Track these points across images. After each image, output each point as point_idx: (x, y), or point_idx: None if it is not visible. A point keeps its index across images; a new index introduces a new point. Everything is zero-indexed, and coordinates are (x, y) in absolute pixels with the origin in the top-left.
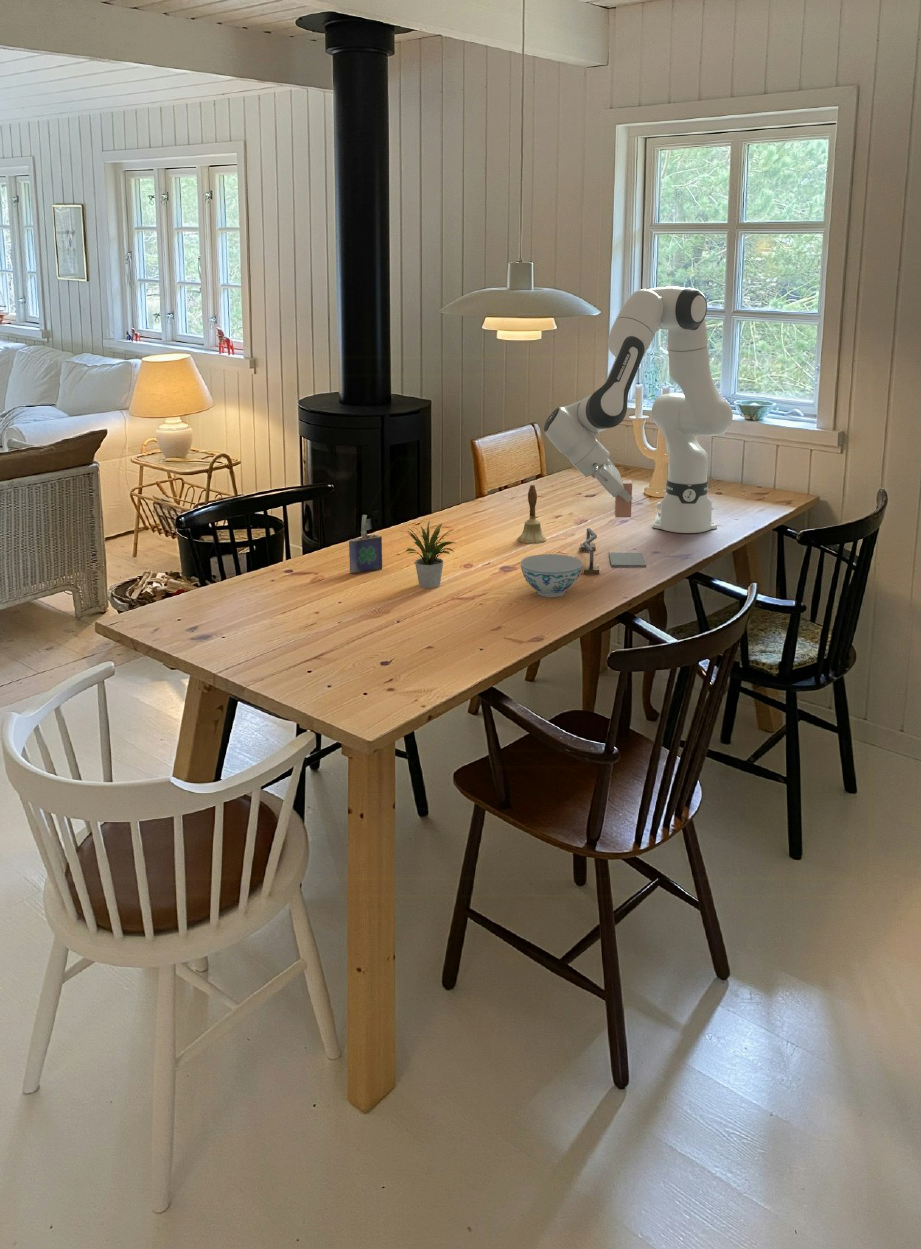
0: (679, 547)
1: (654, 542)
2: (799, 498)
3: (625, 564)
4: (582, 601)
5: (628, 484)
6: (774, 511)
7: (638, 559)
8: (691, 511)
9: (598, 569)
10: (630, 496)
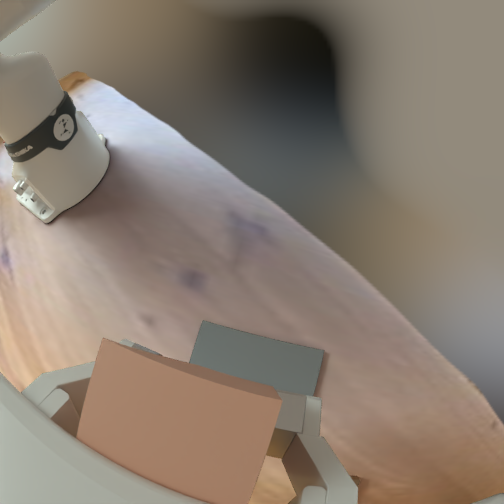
0: (172, 215)
1: (117, 252)
2: (77, 75)
3: None
4: (486, 491)
5: (269, 443)
6: (91, 87)
7: (265, 354)
8: (81, 146)
9: (356, 481)
10: (318, 415)
